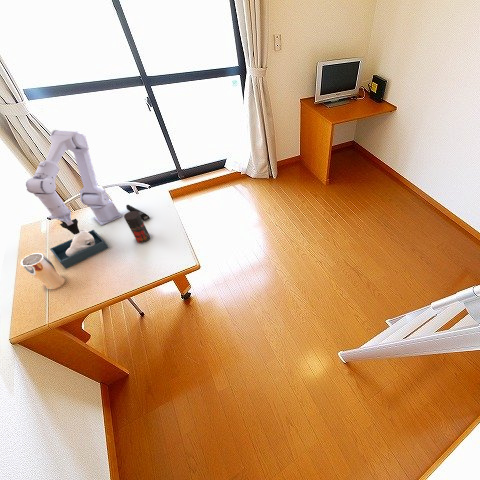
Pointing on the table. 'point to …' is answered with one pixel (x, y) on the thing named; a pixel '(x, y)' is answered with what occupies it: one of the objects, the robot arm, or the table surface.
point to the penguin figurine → (80, 243)
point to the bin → (81, 255)
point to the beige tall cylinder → (42, 270)
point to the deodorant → (137, 226)
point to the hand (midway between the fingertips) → (73, 229)
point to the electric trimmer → (142, 214)
